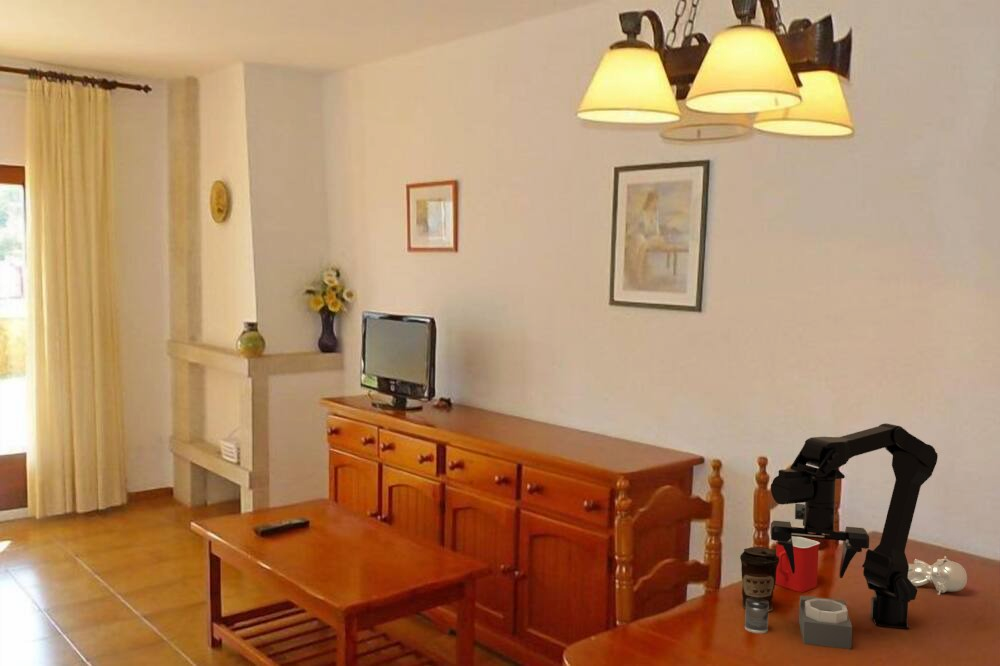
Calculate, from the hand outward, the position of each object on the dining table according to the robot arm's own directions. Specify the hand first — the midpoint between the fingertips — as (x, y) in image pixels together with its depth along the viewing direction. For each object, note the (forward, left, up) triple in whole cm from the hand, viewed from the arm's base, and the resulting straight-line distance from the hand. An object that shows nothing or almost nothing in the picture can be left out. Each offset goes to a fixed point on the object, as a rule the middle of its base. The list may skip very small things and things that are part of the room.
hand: (816, 575), depth 182 cm
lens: (+12, +1, -13) cm, 17 cm away
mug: (+3, -29, -13) cm, 32 cm away
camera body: (-2, 0, -13) cm, 13 cm away
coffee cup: (+11, -12, -13) cm, 21 cm away
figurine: (-30, -39, -13) cm, 51 cm away
